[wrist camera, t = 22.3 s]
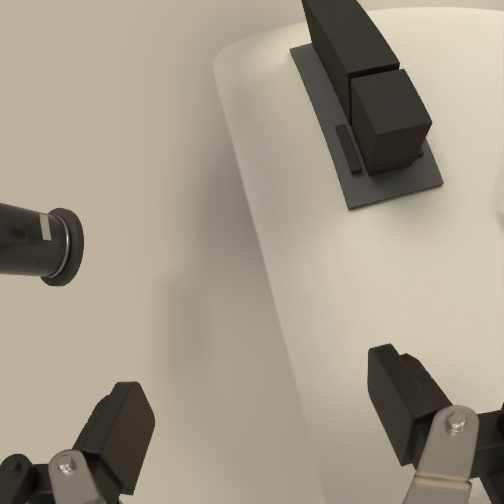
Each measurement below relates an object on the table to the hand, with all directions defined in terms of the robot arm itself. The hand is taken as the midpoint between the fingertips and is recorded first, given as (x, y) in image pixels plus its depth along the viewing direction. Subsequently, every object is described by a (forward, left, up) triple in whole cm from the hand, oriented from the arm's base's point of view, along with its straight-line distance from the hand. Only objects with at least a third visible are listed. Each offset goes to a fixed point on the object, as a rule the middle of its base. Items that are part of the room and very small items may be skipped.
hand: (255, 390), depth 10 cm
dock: (+7, +21, -19) cm, 29 cm away
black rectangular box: (+8, +16, -19) cm, 26 cm away
